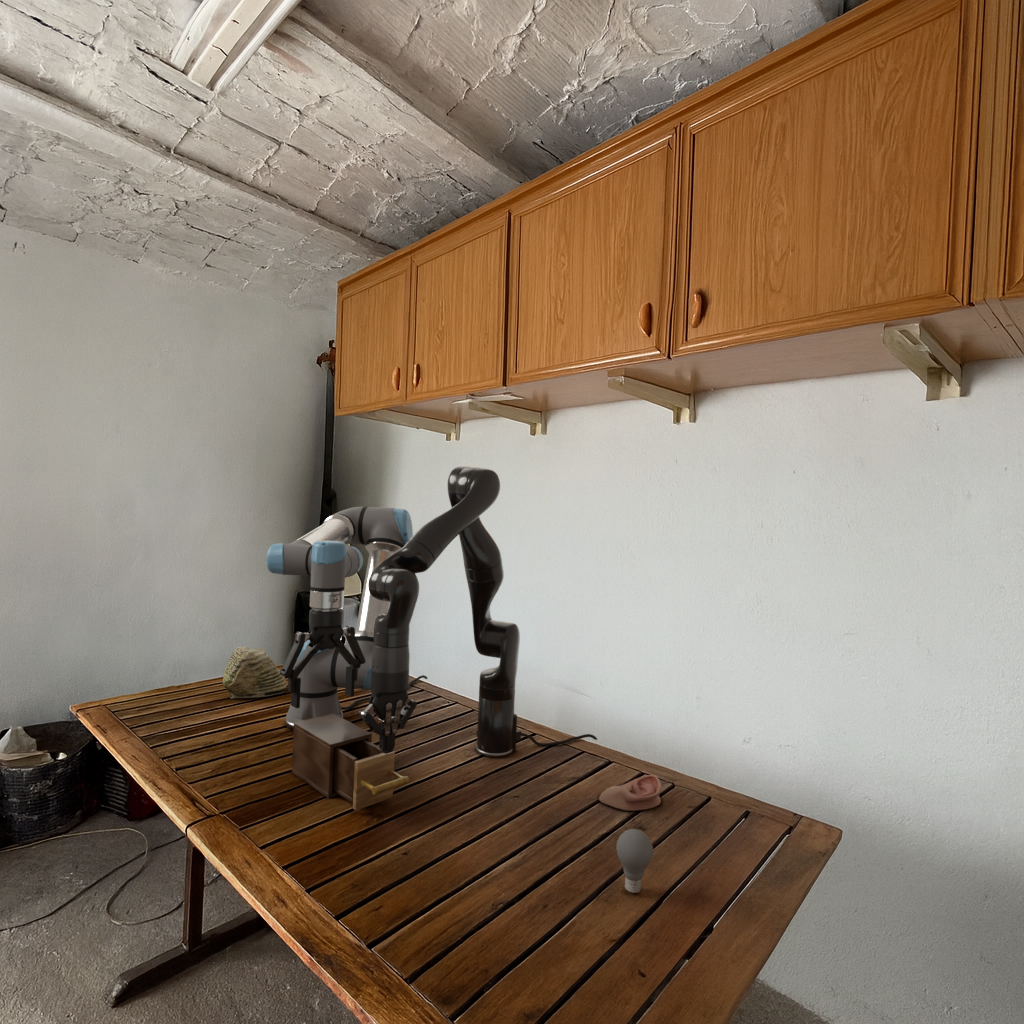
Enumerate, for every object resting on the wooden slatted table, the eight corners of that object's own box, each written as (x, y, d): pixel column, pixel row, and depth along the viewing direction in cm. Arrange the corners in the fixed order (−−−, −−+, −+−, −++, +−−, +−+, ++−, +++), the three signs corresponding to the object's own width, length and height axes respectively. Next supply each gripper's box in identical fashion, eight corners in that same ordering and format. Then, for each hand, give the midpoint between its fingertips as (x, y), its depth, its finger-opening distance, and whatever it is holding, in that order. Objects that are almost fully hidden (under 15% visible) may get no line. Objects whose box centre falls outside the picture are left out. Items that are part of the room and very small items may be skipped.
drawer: (409, 807, 129) (411, 761, 129) (372, 822, 123) (374, 773, 122) (353, 772, 144) (355, 730, 144) (317, 783, 138) (319, 740, 138)
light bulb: (610, 879, 108) (613, 822, 108) (644, 879, 109) (647, 822, 109) (619, 902, 102) (622, 840, 102) (655, 901, 103) (658, 840, 103)
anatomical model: (598, 788, 134) (602, 766, 145) (597, 806, 134) (601, 783, 146) (662, 796, 132) (661, 774, 143) (662, 815, 132) (660, 791, 143)
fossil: (218, 695, 195) (220, 647, 195) (278, 685, 208) (279, 640, 207) (228, 703, 189) (230, 653, 188) (289, 692, 201) (290, 645, 201)
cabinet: (369, 784, 140) (371, 733, 140) (328, 798, 133) (330, 744, 133) (331, 760, 152) (333, 713, 152) (291, 772, 145) (293, 722, 145)
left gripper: (281, 616, 133) (278, 716, 134) (382, 606, 151) (378, 694, 152) (266, 611, 139) (262, 707, 139) (365, 601, 156) (361, 686, 157)
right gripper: (372, 676, 120) (368, 766, 120) (428, 665, 129) (424, 749, 129) (351, 667, 125) (347, 754, 125) (406, 657, 134) (402, 738, 135)
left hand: (323, 700), depth 145 cm, fingers open, 13 cm apart
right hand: (386, 751), depth 127 cm, fingers closed
